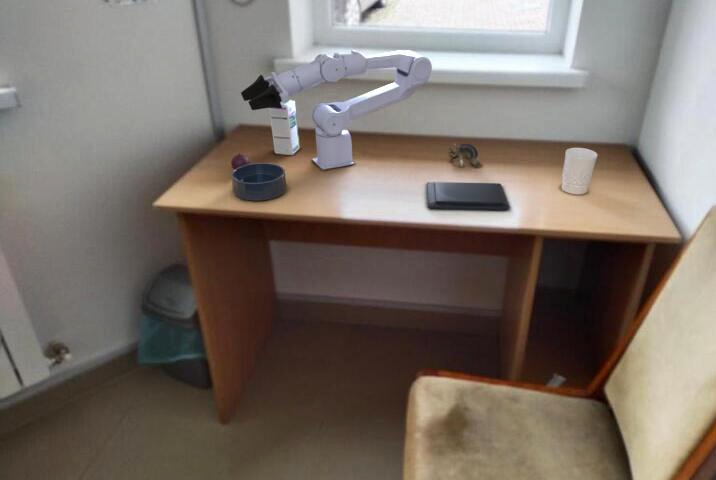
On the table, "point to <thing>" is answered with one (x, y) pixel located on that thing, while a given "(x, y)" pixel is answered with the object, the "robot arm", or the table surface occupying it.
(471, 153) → the chipmunk toy
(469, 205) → the wallet
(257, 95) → the robot arm
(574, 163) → the white cup
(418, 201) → the table surface
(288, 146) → the syrup box
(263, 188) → the bowl
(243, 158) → the plum
